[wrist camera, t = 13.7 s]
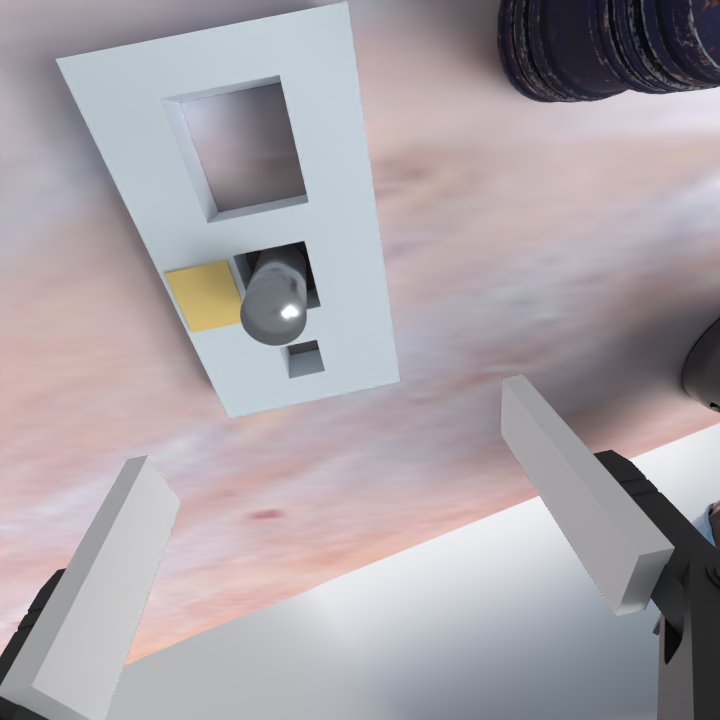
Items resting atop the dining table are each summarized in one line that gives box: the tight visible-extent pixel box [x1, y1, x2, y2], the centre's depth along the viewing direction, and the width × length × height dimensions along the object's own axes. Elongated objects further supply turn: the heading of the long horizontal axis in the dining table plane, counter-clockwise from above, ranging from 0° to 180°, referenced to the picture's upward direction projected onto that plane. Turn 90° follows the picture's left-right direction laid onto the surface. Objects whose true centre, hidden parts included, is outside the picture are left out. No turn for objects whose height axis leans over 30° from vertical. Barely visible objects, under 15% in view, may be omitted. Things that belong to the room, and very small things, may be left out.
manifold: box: [55, 1, 400, 419], centre depth 29 cm, size 16×26×4 cm, turn 10°
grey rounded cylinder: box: [240, 244, 307, 346], centre depth 27 cm, size 4×4×10 cm
